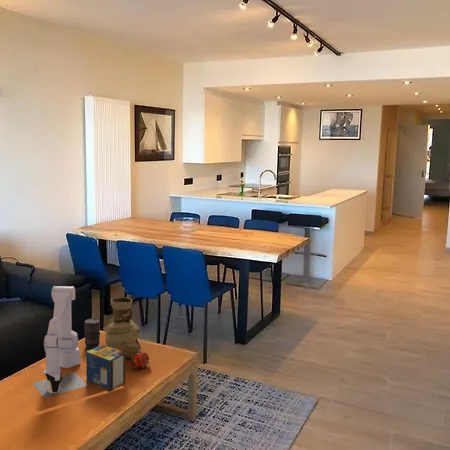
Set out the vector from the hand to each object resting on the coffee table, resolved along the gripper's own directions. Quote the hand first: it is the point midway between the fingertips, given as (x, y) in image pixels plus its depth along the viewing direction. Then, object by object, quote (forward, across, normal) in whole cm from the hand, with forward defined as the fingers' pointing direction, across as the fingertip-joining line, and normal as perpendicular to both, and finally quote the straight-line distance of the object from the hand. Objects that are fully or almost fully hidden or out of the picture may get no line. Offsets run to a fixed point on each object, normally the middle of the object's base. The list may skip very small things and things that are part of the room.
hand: (53, 388), depth 220 cm
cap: (+1, 0, 0) cm, 1 cm away
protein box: (+2, +3, +23) cm, 24 cm away
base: (+2, -4, +4) cm, 6 cm away
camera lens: (+2, -39, +32) cm, 50 cm away
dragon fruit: (+2, -4, +44) cm, 44 cm away
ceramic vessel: (+2, -23, +43) cm, 49 cm away
